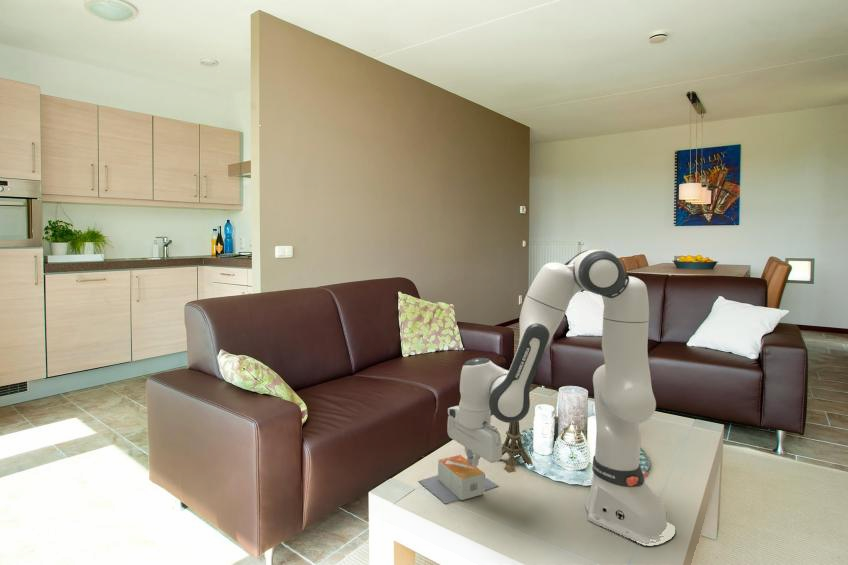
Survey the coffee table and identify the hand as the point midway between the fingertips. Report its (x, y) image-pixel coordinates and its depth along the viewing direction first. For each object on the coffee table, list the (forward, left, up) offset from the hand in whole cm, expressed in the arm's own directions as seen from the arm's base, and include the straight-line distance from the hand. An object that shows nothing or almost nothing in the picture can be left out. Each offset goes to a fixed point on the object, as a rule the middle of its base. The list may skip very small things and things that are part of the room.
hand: (472, 464), depth 136 cm
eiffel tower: (+10, -25, -10) cm, 29 cm away
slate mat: (+7, -1, -10) cm, 12 cm away
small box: (-1, 0, -6) cm, 6 cm away
